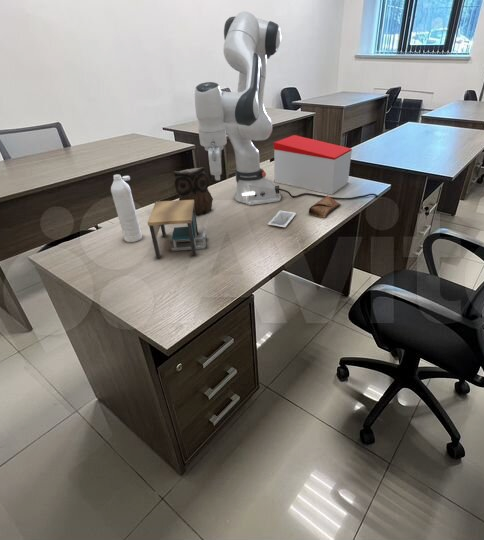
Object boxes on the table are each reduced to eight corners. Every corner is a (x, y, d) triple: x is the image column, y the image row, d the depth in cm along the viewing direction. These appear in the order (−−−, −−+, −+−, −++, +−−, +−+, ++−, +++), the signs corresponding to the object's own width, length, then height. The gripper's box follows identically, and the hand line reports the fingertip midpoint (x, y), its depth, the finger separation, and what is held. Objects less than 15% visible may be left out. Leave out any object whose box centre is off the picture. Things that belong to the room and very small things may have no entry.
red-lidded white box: (292, 171, 203) (293, 134, 191) (347, 182, 187) (352, 143, 175) (273, 181, 188) (273, 142, 176) (331, 194, 172) (335, 152, 161)
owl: (215, 209, 156) (210, 165, 145) (199, 220, 146) (192, 174, 135) (192, 205, 160) (185, 162, 149) (175, 215, 151) (167, 170, 140)
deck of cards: (296, 215, 151) (296, 210, 150) (285, 229, 140) (285, 224, 138) (279, 212, 154) (279, 208, 152) (267, 226, 142) (267, 221, 141)
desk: (198, 233, 137) (194, 199, 129) (196, 256, 122) (190, 219, 114) (162, 235, 135) (155, 201, 127) (156, 259, 120) (147, 222, 112)
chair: (206, 238, 133) (203, 211, 127) (206, 248, 126) (202, 220, 120) (173, 241, 131) (168, 213, 125) (171, 251, 125) (166, 222, 118)
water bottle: (120, 240, 132) (102, 176, 118) (133, 233, 136) (117, 171, 123) (137, 245, 128) (120, 180, 115) (150, 237, 133) (135, 174, 120)
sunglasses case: (325, 217, 148) (319, 203, 146) (312, 222, 153) (306, 208, 151) (341, 204, 161) (336, 190, 159) (329, 208, 165) (324, 195, 164)
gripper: (223, 146, 105) (227, 189, 113) (222, 131, 122) (226, 169, 130) (202, 147, 105) (208, 190, 113) (204, 132, 121) (209, 170, 129)
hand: (217, 179), depth 121 cm, fingers closed
